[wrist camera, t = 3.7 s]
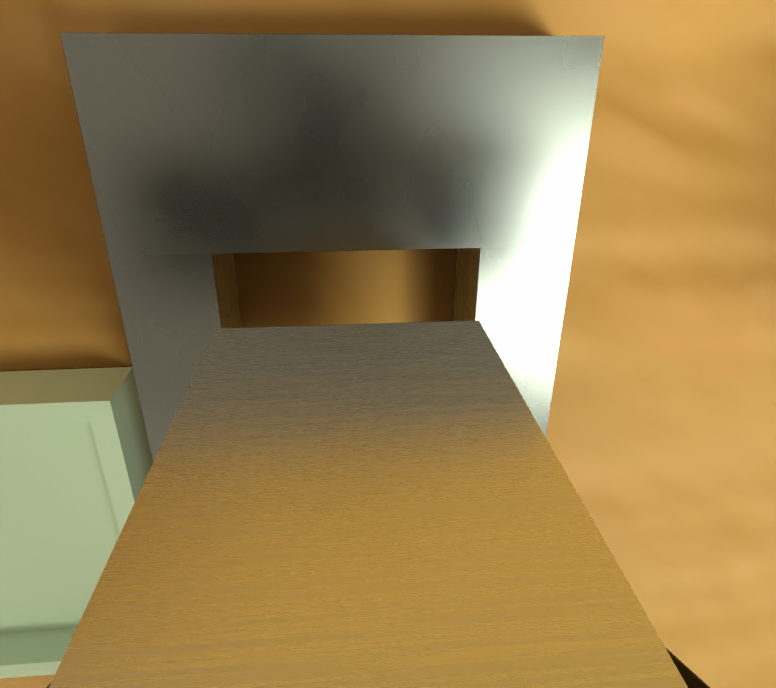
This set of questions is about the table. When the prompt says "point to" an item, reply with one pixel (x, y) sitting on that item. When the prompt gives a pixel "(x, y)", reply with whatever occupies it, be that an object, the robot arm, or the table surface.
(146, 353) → the grey socket board
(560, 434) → the table surface
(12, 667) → the tray
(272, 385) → the nut
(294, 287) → the table surface
